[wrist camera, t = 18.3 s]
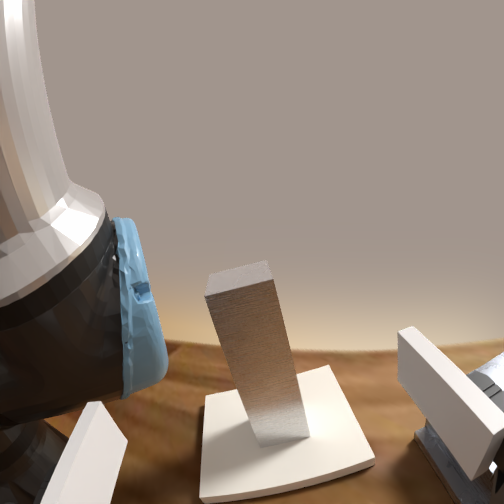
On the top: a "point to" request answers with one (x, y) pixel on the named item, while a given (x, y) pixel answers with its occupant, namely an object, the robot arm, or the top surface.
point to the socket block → (444, 463)
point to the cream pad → (280, 445)
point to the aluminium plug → (258, 351)
